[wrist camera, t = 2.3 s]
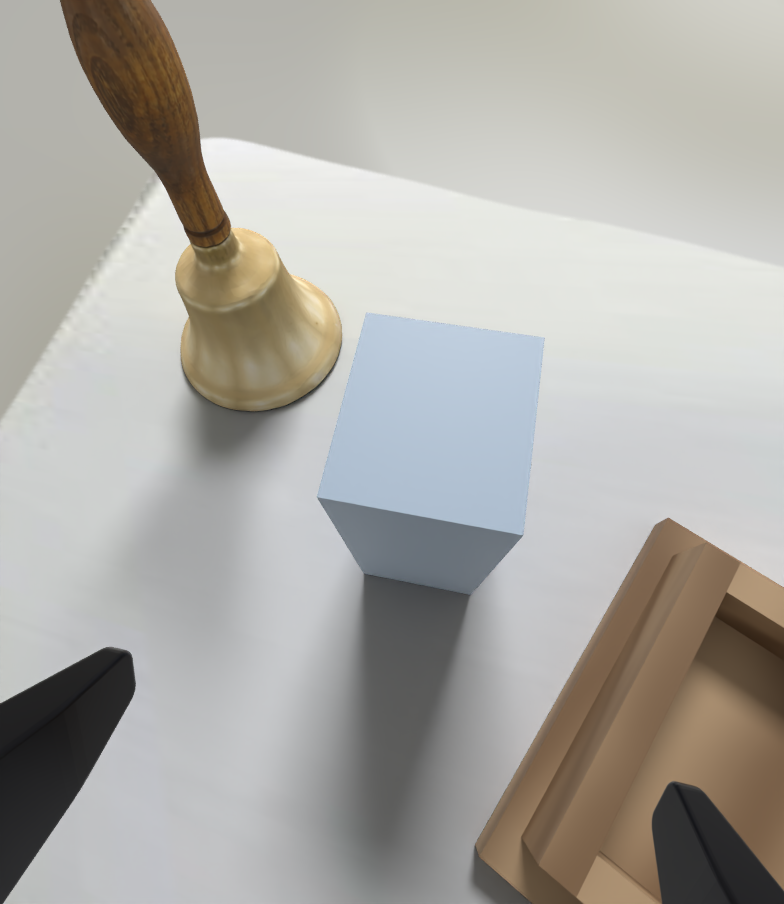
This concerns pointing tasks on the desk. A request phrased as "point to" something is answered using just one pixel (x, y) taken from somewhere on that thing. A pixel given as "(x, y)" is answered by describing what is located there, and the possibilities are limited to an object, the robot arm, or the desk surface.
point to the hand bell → (205, 223)
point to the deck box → (433, 450)
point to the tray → (653, 730)
